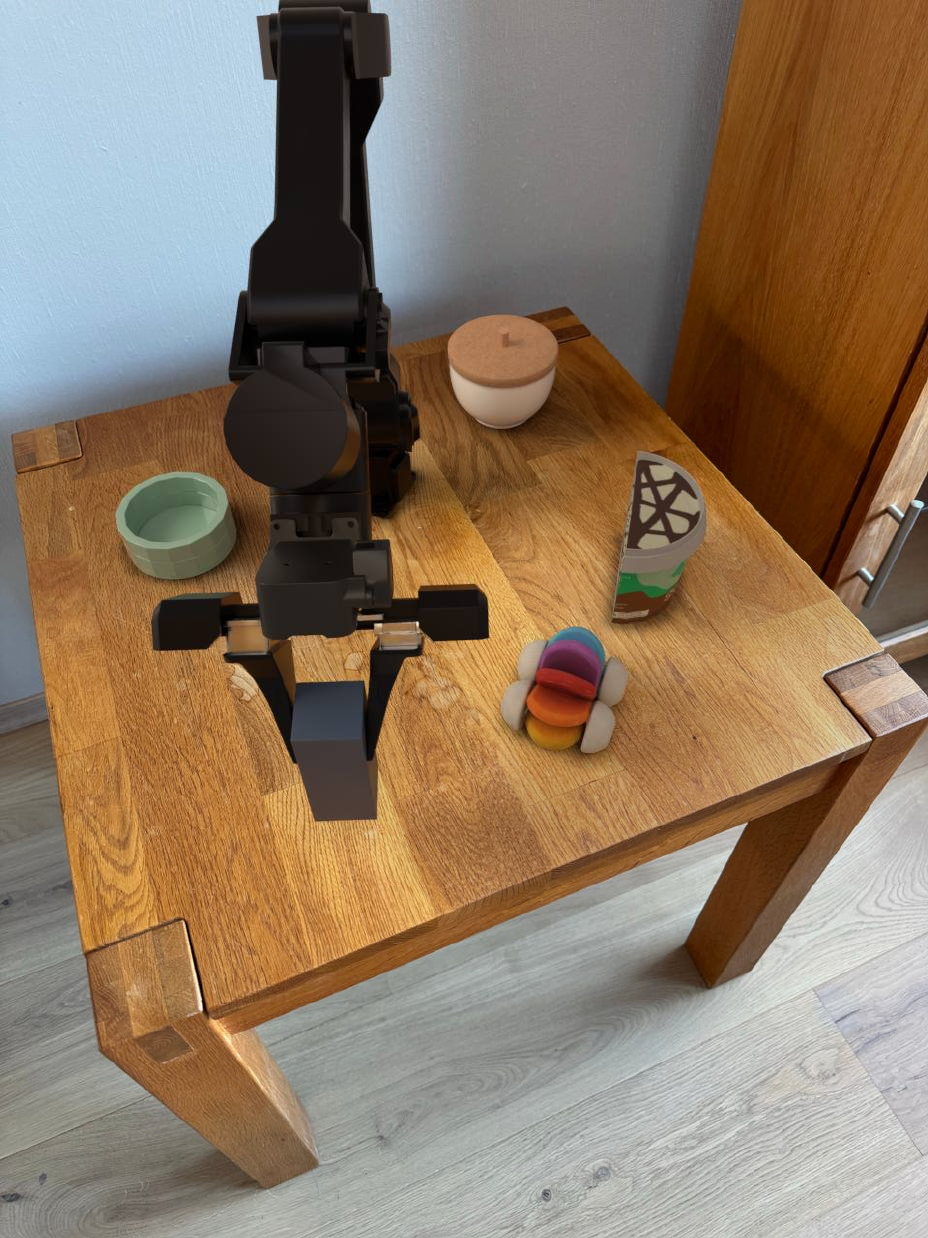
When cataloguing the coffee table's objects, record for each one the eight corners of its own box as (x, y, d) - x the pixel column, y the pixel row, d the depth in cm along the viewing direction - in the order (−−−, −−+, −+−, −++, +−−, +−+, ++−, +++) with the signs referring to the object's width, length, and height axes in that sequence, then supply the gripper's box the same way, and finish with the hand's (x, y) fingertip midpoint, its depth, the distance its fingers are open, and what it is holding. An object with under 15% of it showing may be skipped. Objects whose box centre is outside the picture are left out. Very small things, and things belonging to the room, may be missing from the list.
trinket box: (427, 408, 95) (423, 329, 87) (502, 365, 99) (504, 286, 92) (500, 458, 90) (502, 379, 82) (574, 411, 94) (583, 331, 87)
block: (318, 767, 61) (296, 682, 54) (378, 765, 61) (364, 679, 54) (314, 822, 59) (290, 741, 51) (376, 819, 59) (362, 738, 51)
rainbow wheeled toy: (491, 743, 69) (492, 688, 64) (530, 647, 75) (534, 589, 69) (600, 776, 67) (611, 723, 62) (631, 675, 73) (644, 618, 67)
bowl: (107, 557, 82) (92, 526, 79) (174, 491, 87) (163, 459, 84) (193, 594, 79) (182, 562, 76) (257, 523, 84) (249, 491, 81)
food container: (684, 647, 75) (708, 565, 67) (609, 636, 76) (624, 554, 68) (691, 540, 82) (714, 455, 75) (623, 531, 83) (638, 446, 75)
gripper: (104, 497, 44) (128, 810, 46) (489, 485, 45) (498, 796, 46) (173, 501, 55) (190, 753, 57) (481, 491, 56) (488, 742, 57)
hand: (333, 761), depth 54 cm, fingers closed on block, 4 cm apart
